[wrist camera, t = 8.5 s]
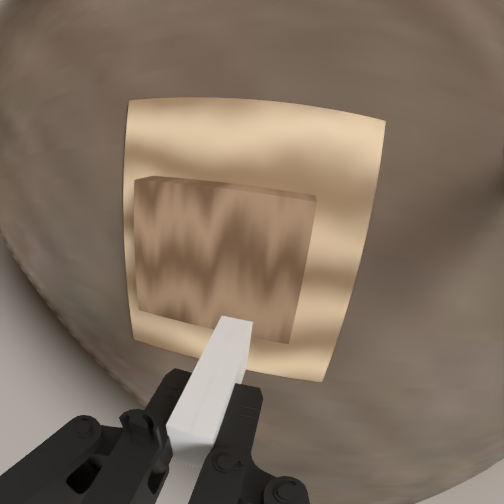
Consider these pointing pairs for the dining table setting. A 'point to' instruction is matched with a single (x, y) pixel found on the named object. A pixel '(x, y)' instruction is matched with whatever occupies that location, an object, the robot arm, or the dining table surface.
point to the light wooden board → (273, 177)
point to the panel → (221, 252)
